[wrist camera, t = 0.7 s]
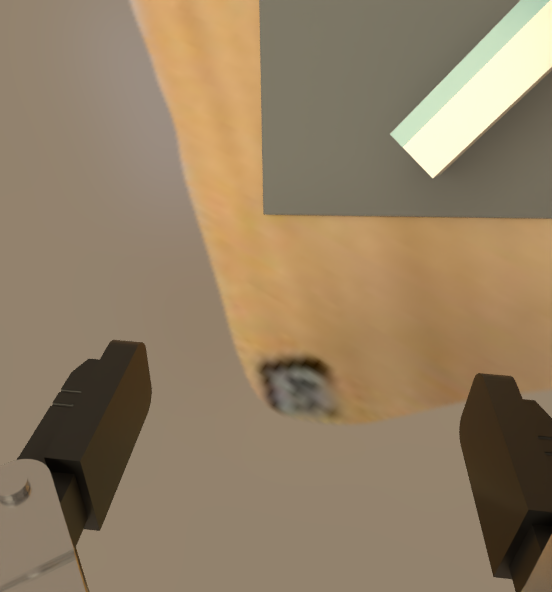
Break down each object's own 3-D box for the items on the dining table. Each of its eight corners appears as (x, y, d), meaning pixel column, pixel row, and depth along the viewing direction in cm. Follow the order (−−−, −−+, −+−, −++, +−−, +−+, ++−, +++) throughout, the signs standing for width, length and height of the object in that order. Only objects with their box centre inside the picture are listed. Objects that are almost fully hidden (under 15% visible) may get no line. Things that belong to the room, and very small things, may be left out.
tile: (417, 148, 30) (389, 134, 17) (536, 31, 27) (615, -97, 14) (441, 173, 30) (432, 178, 17) (564, 58, 26) (670, -45, 14)
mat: (260, -142, 29) (256, -148, 29) (628, -221, 24) (632, -231, 23) (266, 213, 34) (263, 214, 33) (574, 217, 28) (576, 218, 28)
